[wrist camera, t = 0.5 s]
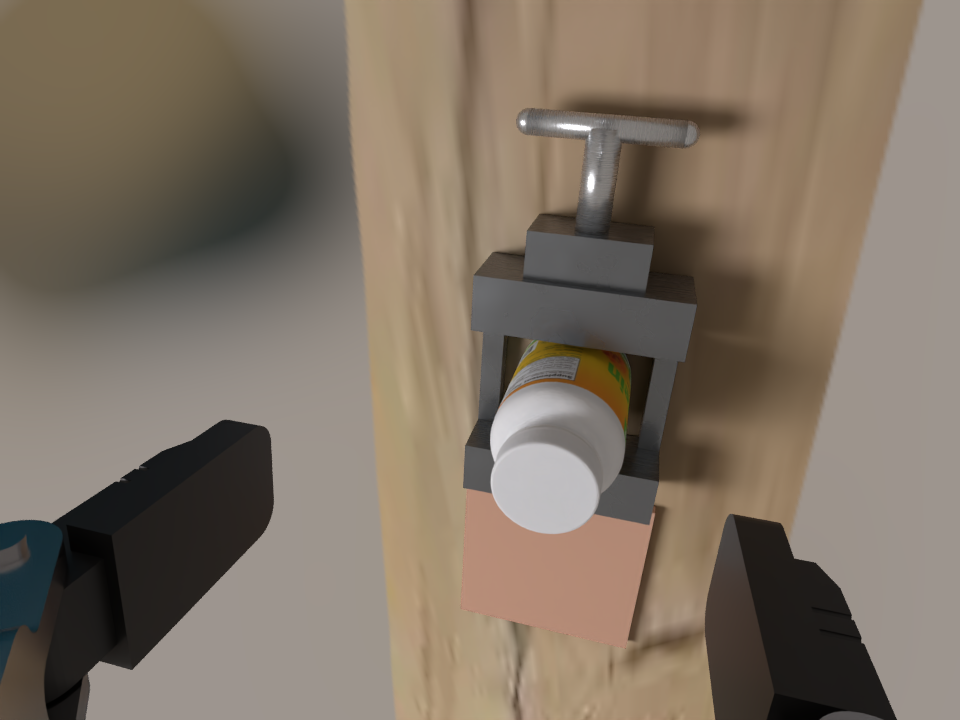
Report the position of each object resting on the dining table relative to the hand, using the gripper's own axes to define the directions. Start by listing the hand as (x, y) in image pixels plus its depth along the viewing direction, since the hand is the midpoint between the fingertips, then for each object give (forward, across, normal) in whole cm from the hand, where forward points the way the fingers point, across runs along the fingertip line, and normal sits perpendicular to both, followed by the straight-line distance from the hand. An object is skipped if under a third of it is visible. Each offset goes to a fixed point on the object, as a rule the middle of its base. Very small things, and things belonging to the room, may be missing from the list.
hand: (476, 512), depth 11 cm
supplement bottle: (+21, 0, +5) cm, 21 cm away
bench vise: (+20, 0, +2) cm, 20 cm away
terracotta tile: (+22, 0, +17) cm, 27 cm away
